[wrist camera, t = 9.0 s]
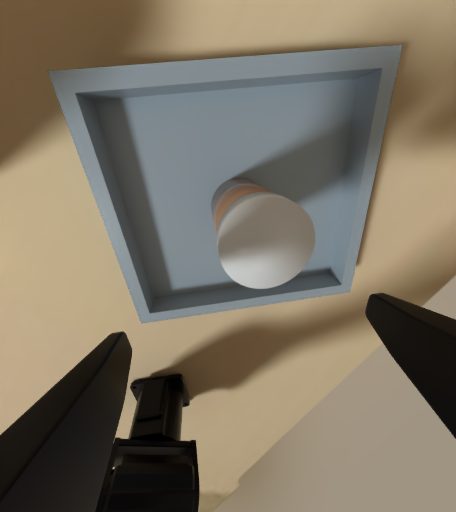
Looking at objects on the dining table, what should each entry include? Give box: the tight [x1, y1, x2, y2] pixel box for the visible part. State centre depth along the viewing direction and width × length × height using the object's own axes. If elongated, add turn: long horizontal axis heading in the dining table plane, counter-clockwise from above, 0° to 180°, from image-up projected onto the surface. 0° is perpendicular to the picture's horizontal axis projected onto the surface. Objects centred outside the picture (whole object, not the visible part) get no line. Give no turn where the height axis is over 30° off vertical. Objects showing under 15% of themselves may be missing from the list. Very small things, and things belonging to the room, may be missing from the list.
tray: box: [48, 45, 403, 324], centre depth 17 cm, size 18×20×3 cm
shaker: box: [211, 177, 315, 289], centre depth 14 cm, size 5×5×8 cm
